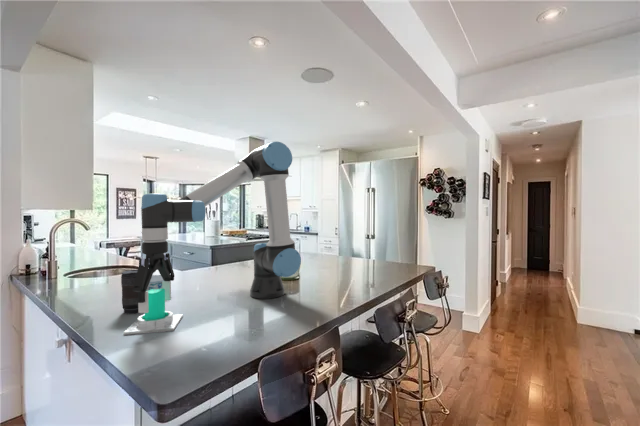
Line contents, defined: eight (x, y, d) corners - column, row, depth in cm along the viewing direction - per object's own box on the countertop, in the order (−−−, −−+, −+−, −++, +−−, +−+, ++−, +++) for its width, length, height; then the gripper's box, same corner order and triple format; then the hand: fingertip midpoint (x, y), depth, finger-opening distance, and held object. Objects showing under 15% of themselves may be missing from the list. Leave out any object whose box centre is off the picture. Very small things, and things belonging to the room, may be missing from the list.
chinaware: (148, 290, 149) (148, 274, 149) (177, 291, 147) (177, 275, 147) (124, 299, 134) (124, 281, 134) (156, 300, 132) (156, 282, 132)
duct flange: (182, 316, 112) (182, 307, 112) (173, 330, 98) (173, 321, 98) (139, 319, 108) (139, 310, 108) (123, 334, 95) (123, 324, 95)
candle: (169, 320, 105) (169, 284, 105) (155, 326, 99) (155, 288, 99) (154, 318, 107) (154, 283, 107) (140, 324, 101) (139, 287, 101)
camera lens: (123, 309, 120) (123, 270, 120) (147, 306, 123) (147, 268, 123) (119, 315, 113) (119, 273, 113) (145, 312, 116) (145, 272, 116)
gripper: (164, 237, 116) (164, 295, 116) (118, 245, 91) (119, 318, 91) (184, 237, 116) (184, 295, 116) (143, 245, 91) (144, 318, 91)
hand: (155, 306), depth 103 cm, fingers open, 13 cm apart
